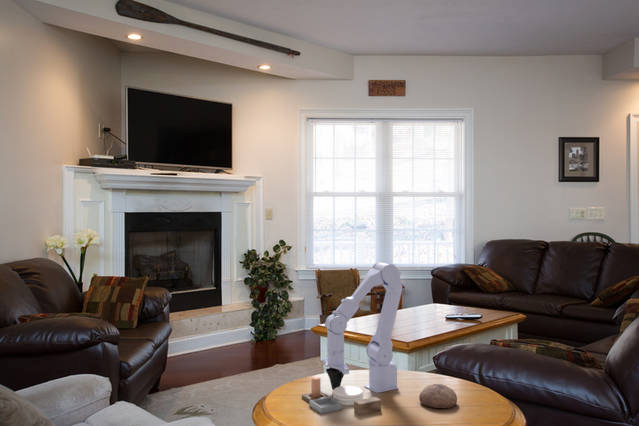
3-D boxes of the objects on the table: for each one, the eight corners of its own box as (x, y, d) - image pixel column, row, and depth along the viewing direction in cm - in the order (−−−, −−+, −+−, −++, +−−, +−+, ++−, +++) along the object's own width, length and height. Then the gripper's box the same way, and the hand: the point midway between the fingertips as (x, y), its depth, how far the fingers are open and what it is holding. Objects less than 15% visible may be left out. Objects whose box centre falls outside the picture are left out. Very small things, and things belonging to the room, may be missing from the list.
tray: (330, 402, 175) (330, 396, 175) (342, 410, 168) (342, 403, 168) (309, 406, 171) (309, 400, 171) (320, 414, 165) (320, 408, 165)
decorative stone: (443, 411, 165) (442, 393, 165) (412, 402, 174) (411, 385, 174) (464, 401, 173) (463, 384, 173) (433, 393, 182) (432, 377, 182)
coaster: (368, 399, 179) (368, 388, 179) (354, 408, 170) (354, 397, 170) (342, 393, 184) (342, 383, 184) (327, 402, 176) (327, 391, 176)
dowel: (317, 397, 180) (317, 376, 180) (322, 400, 177) (322, 379, 177) (309, 398, 178) (309, 377, 178) (314, 401, 176) (314, 380, 176)
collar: (320, 394, 183) (320, 391, 182) (330, 401, 176) (330, 397, 176) (301, 398, 179) (301, 394, 179) (311, 404, 173) (311, 401, 173)
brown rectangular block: (375, 407, 170) (375, 396, 170) (381, 411, 167) (381, 399, 167) (354, 412, 166) (354, 401, 166) (359, 415, 164) (359, 404, 164)
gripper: (315, 347, 189) (315, 385, 189) (336, 356, 176) (336, 398, 176) (333, 344, 192) (333, 382, 192) (354, 354, 179) (354, 394, 179)
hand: (335, 389), depth 184 cm, fingers closed
